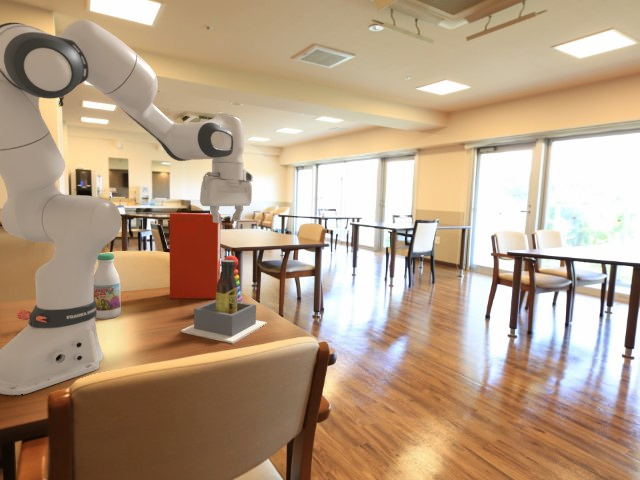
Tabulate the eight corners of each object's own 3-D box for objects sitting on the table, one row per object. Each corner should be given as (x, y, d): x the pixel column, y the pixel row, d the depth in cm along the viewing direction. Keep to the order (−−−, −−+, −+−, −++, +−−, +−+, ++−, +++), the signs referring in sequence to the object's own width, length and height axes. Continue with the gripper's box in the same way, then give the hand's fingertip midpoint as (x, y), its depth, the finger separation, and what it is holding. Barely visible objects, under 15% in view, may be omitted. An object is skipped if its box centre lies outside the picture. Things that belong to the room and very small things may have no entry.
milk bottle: (94, 313, 125) (92, 252, 122) (120, 311, 128) (119, 251, 126) (92, 320, 118) (90, 256, 115) (121, 318, 121) (119, 255, 119)
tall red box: (175, 293, 152) (174, 212, 148) (219, 293, 154) (220, 213, 151) (169, 298, 144) (169, 213, 140) (216, 299, 146) (217, 215, 143)
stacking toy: (219, 304, 140) (219, 253, 138) (241, 303, 142) (242, 253, 140) (219, 311, 132) (220, 257, 130) (243, 310, 135) (244, 257, 132)
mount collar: (232, 343, 105) (233, 320, 104) (181, 332, 112) (181, 310, 111) (266, 324, 121) (267, 303, 121) (219, 315, 128) (219, 295, 127)
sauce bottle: (231, 330, 113) (233, 263, 111) (211, 327, 114) (212, 261, 112) (239, 323, 120) (241, 260, 117) (220, 321, 120) (222, 258, 118)
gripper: (213, 171, 100) (213, 224, 102) (255, 176, 119) (254, 220, 121) (194, 171, 103) (194, 222, 104) (238, 175, 121) (237, 219, 123)
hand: (227, 221), depth 113 cm, fingers open, 8 cm apart
